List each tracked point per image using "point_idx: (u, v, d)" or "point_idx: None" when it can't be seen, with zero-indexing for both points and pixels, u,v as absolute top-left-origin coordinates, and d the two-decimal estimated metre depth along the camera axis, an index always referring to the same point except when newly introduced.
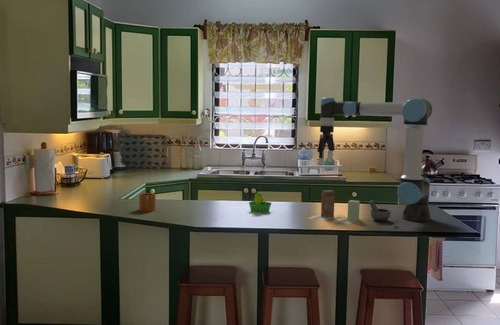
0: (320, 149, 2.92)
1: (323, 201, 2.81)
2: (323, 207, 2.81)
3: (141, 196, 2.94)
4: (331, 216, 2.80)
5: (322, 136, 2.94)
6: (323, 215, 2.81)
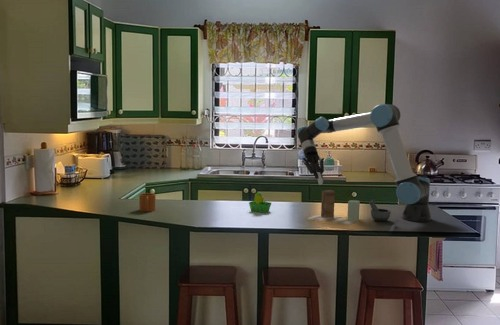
0: None
1: (323, 201, 2.81)
2: (323, 207, 2.81)
3: (141, 196, 2.94)
4: (331, 216, 2.80)
5: (304, 161, 2.96)
6: (323, 215, 2.81)
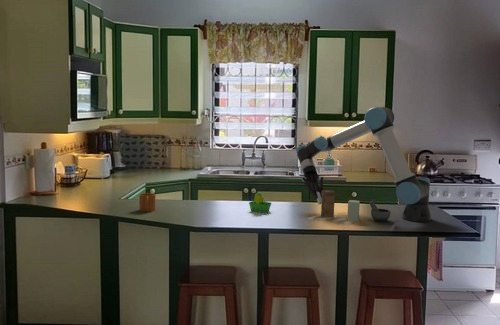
0: (310, 190, 2.93)
1: (323, 201, 2.81)
2: (323, 207, 2.81)
3: (141, 196, 2.94)
4: (331, 216, 2.80)
5: (303, 180, 2.97)
6: (323, 215, 2.81)
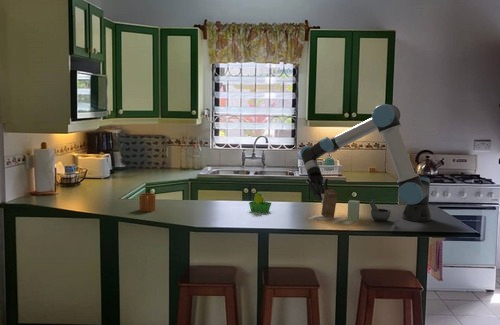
0: (315, 192, 2.87)
1: (325, 201, 2.79)
2: (324, 207, 2.79)
3: (141, 196, 2.94)
4: (331, 216, 2.80)
5: (307, 182, 2.91)
6: (323, 214, 2.81)
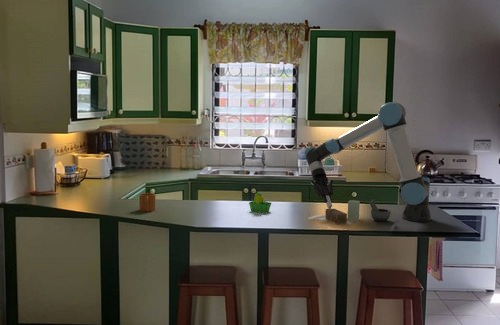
0: (320, 193, 2.82)
1: (332, 216, 2.71)
2: (329, 215, 2.74)
3: (141, 196, 2.94)
4: None
5: (312, 183, 2.86)
6: (326, 214, 2.78)
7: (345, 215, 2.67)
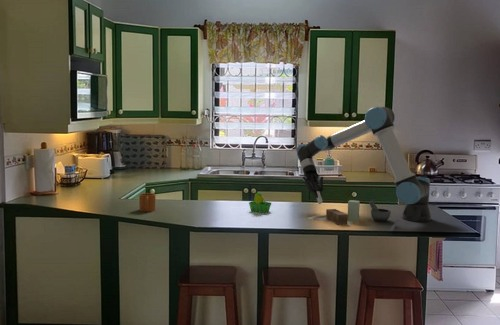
0: (311, 189, 2.94)
1: (333, 216, 2.70)
2: (330, 216, 2.73)
3: (141, 196, 2.94)
4: None
5: (303, 179, 2.97)
6: (327, 215, 2.77)
7: (346, 215, 2.66)
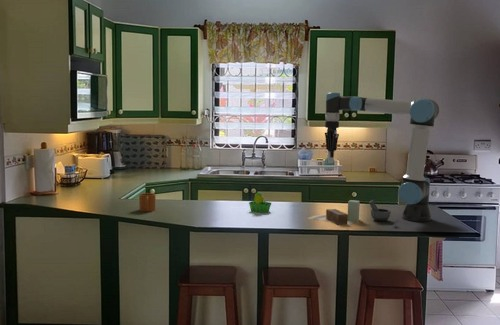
0: (334, 148, 2.94)
1: (333, 216, 2.70)
2: (330, 216, 2.73)
3: (141, 196, 2.94)
4: None
5: (336, 136, 2.91)
6: (327, 215, 2.77)
7: (346, 215, 2.66)
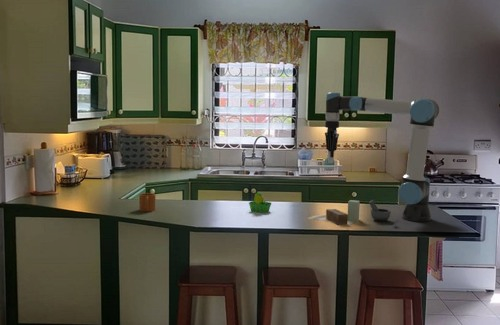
0: (334, 148, 2.94)
1: (333, 216, 2.70)
2: (330, 216, 2.73)
3: (141, 196, 2.94)
4: None
5: (336, 136, 2.91)
6: (327, 215, 2.77)
7: (346, 215, 2.66)
